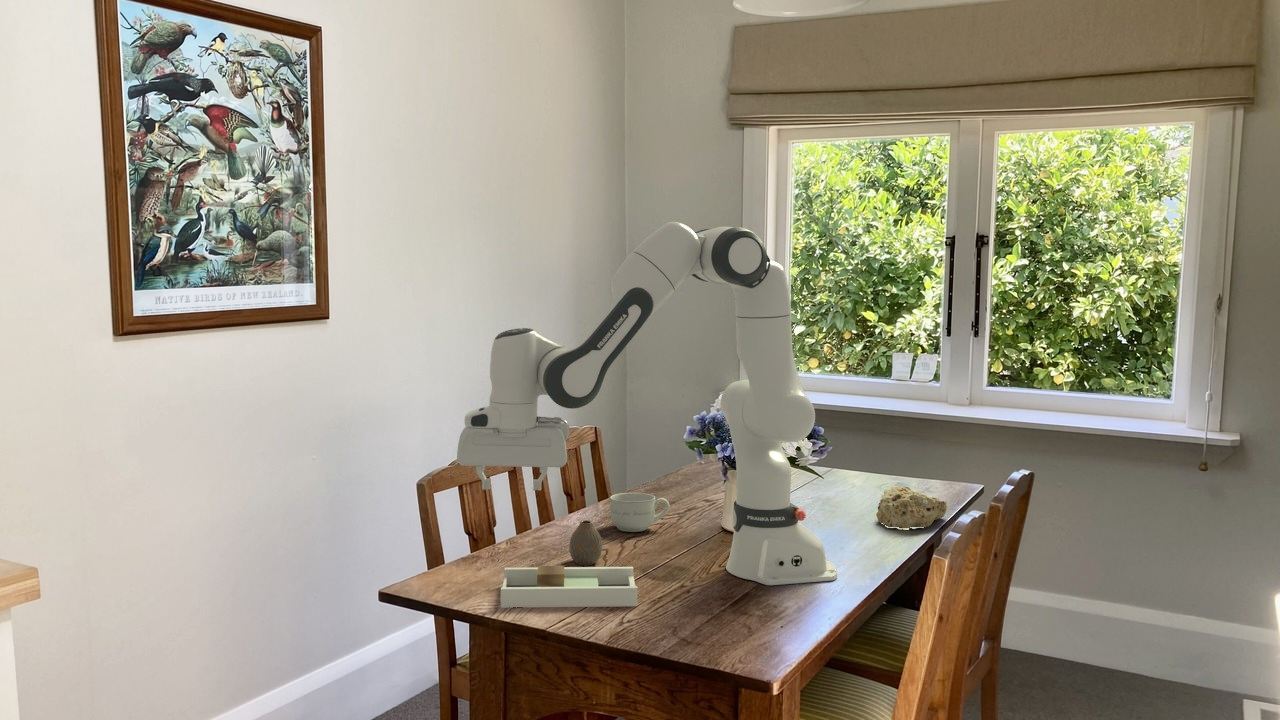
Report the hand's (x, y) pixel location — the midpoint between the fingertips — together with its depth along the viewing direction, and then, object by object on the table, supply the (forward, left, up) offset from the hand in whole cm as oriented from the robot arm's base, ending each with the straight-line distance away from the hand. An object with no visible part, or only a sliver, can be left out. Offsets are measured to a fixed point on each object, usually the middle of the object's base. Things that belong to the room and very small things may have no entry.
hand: (511, 489), depth 182 cm
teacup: (-27, -43, -21) cm, 55 cm away
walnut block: (-7, 0, -19) cm, 20 cm away
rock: (-95, -49, -21) cm, 109 cm away
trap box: (-11, 0, -21) cm, 23 cm away
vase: (-14, -19, -21) cm, 32 cm away
